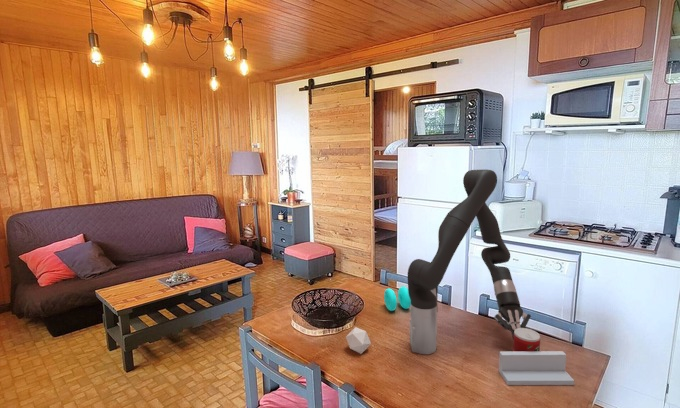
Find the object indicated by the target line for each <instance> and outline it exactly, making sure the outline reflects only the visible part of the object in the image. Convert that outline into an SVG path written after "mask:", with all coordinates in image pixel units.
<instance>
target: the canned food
mask: <svg viewBox="0 0 680 408" xmlns="http://www.w3.org/2000/svg"><path fill="white" fill-rule="evenodd" d="M540 347H541V335H540V334H539V333H538V332H537V331H535V330H534V329H531V328H528V327H525V328H517V329H515V331H514V340H513V345H512V351H540Z"/></svg>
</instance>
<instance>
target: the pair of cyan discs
mask: <svg viewBox="0 0 680 408" xmlns="http://www.w3.org/2000/svg"><path fill="white" fill-rule="evenodd" d="M396 295H397V296H396ZM383 299H384V305H385V307H386V309H387V310H388V311H389V312H394V311H395V310H396V308H397V307H398V303H399V304H400V306H401V308H403V309H405V310H407V309H409V308H411V300H410V297H409V293H408V287H406V286H401V287H399V289H398V291H397V294H396V292H395V291H394V290H393V289H392V288H390V287H389V288H386V289H385V290H384V292H383Z"/></svg>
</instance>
